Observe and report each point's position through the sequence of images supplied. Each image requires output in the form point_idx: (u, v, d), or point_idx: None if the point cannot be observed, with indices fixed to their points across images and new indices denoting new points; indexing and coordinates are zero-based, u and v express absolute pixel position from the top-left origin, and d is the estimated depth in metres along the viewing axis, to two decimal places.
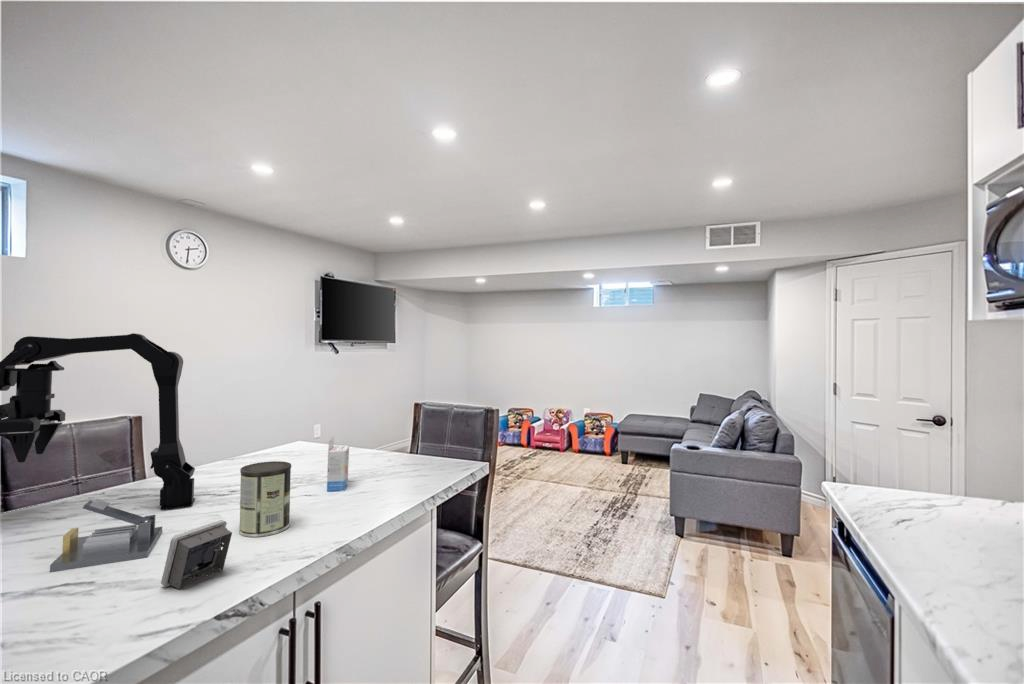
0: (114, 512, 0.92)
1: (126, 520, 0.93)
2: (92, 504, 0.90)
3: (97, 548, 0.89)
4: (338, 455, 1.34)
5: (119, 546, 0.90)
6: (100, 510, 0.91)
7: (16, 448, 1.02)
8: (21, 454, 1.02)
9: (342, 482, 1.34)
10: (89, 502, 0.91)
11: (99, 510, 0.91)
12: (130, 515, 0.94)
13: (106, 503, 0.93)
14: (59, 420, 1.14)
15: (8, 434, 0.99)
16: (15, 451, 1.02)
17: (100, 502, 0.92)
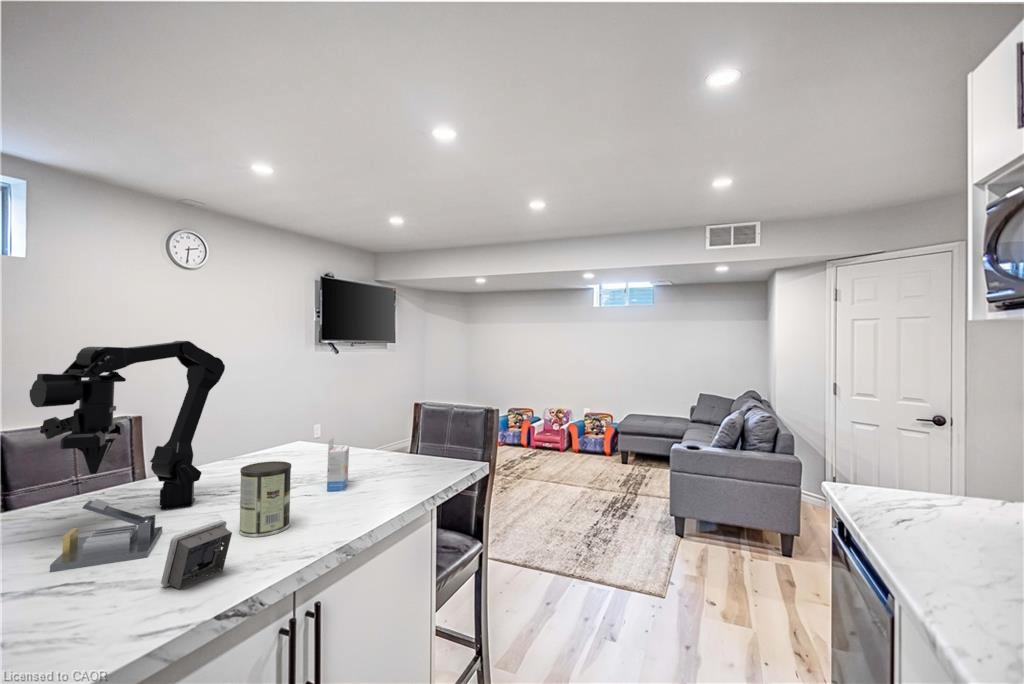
0: (114, 512, 0.92)
1: (126, 520, 0.93)
2: (92, 504, 0.90)
3: (97, 548, 0.89)
4: (338, 455, 1.34)
5: (119, 546, 0.90)
6: (100, 510, 0.91)
7: (89, 460, 1.01)
8: (93, 465, 1.02)
9: (342, 482, 1.34)
10: (89, 502, 0.91)
11: (99, 510, 0.91)
12: (130, 515, 0.94)
13: (106, 503, 0.93)
14: (119, 433, 1.09)
15: None
16: (88, 462, 1.01)
17: (100, 502, 0.92)
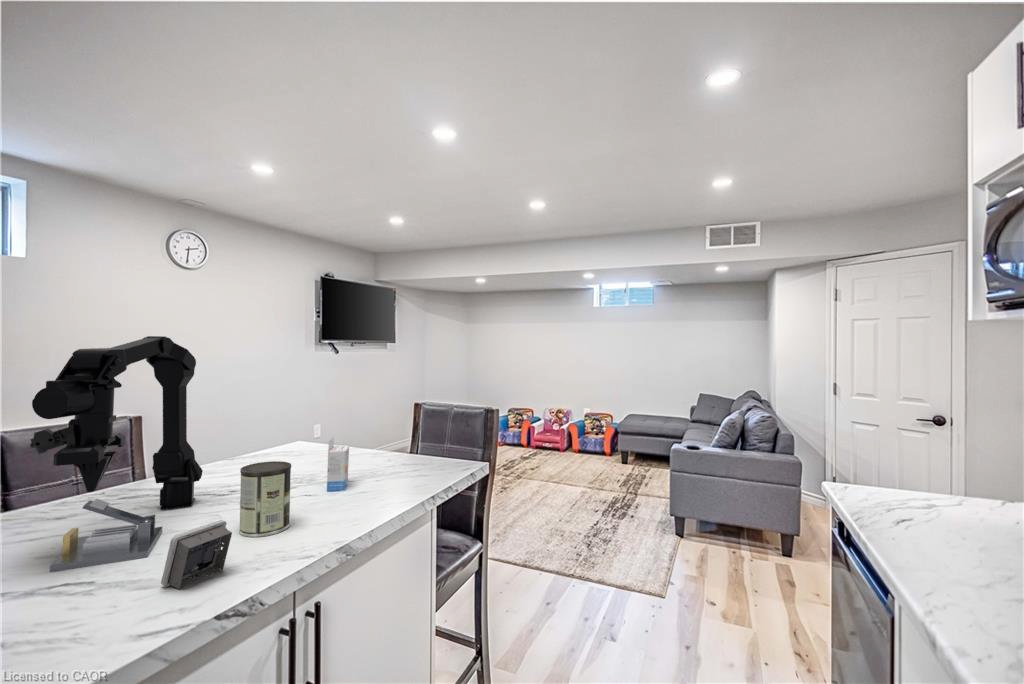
0: (114, 512, 0.92)
1: (126, 520, 0.93)
2: (92, 504, 0.90)
3: (97, 548, 0.89)
4: (338, 455, 1.34)
5: (119, 546, 0.90)
6: (100, 510, 0.91)
7: (86, 476, 0.90)
8: (91, 483, 0.91)
9: (342, 482, 1.34)
10: (89, 502, 0.91)
11: (99, 510, 0.91)
12: (130, 515, 0.94)
13: (106, 503, 0.93)
14: (120, 445, 0.98)
15: None
16: (84, 479, 0.90)
17: (100, 502, 0.92)
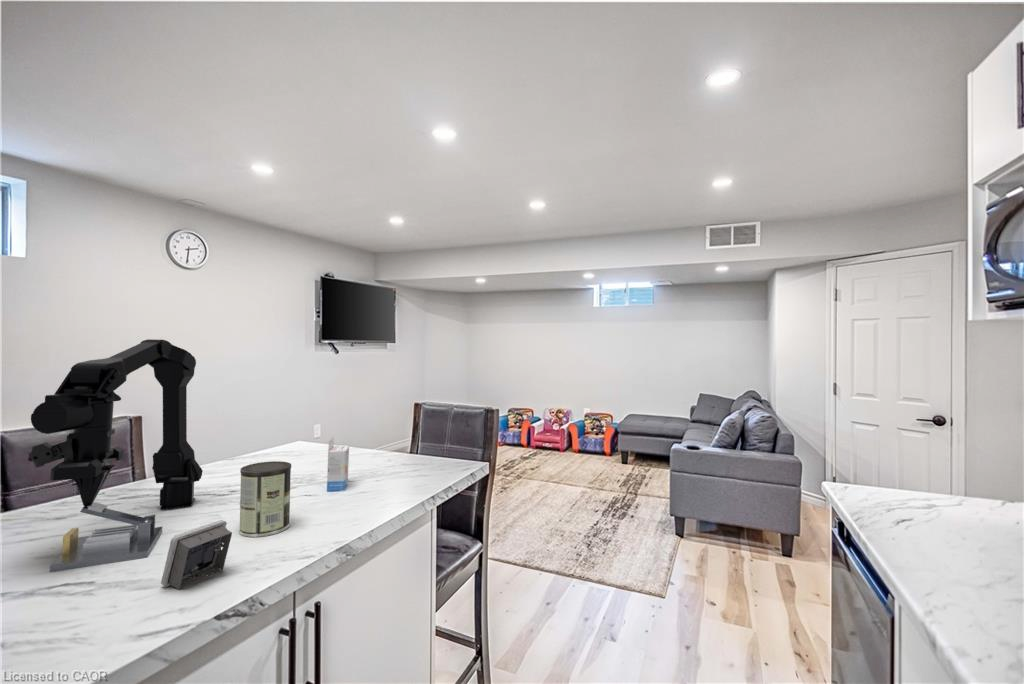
0: (113, 514, 0.92)
1: (125, 521, 0.92)
2: (90, 507, 0.90)
3: (97, 548, 0.89)
4: (338, 455, 1.34)
5: (119, 546, 0.90)
6: (98, 513, 0.91)
7: (83, 490, 0.90)
8: (87, 497, 0.90)
9: (342, 482, 1.34)
10: (87, 506, 0.91)
11: (97, 513, 0.91)
12: (129, 516, 0.94)
13: (104, 506, 0.93)
14: (118, 458, 0.98)
15: None
16: (81, 493, 0.90)
17: (97, 505, 0.92)
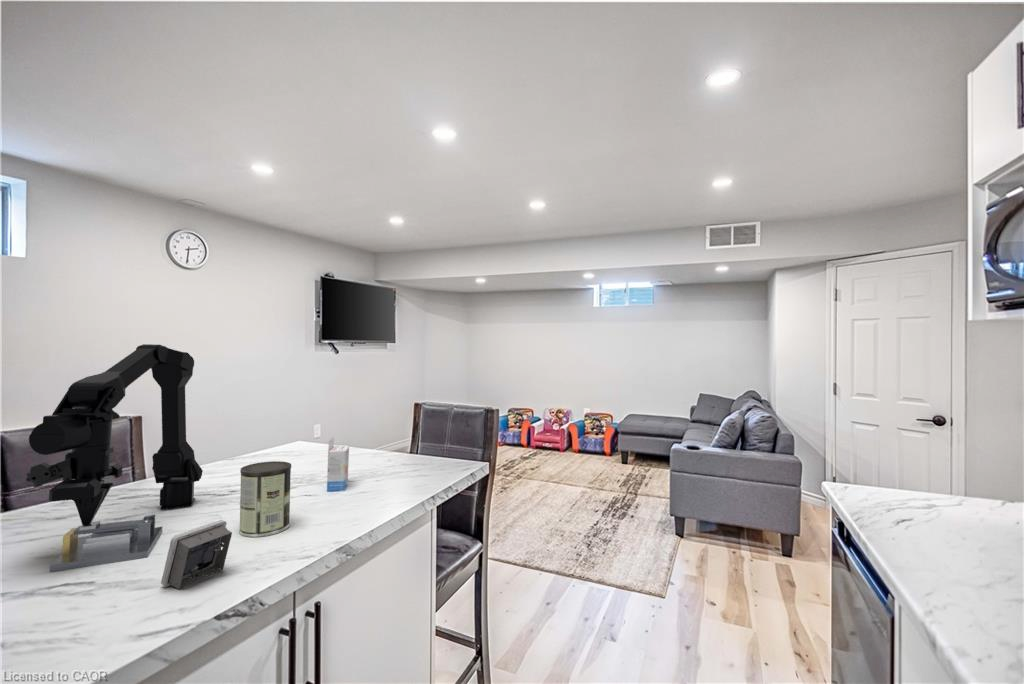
0: (108, 526, 0.92)
1: (124, 528, 0.92)
2: (81, 528, 0.89)
3: (97, 548, 0.89)
4: (338, 455, 1.34)
5: (119, 546, 0.90)
6: (92, 530, 0.90)
7: (82, 509, 0.89)
8: (86, 516, 0.90)
9: (342, 482, 1.34)
10: (78, 528, 0.90)
11: (91, 530, 0.90)
12: (126, 523, 0.94)
13: (96, 522, 0.92)
14: (116, 476, 0.98)
15: None
16: (80, 512, 0.90)
17: None
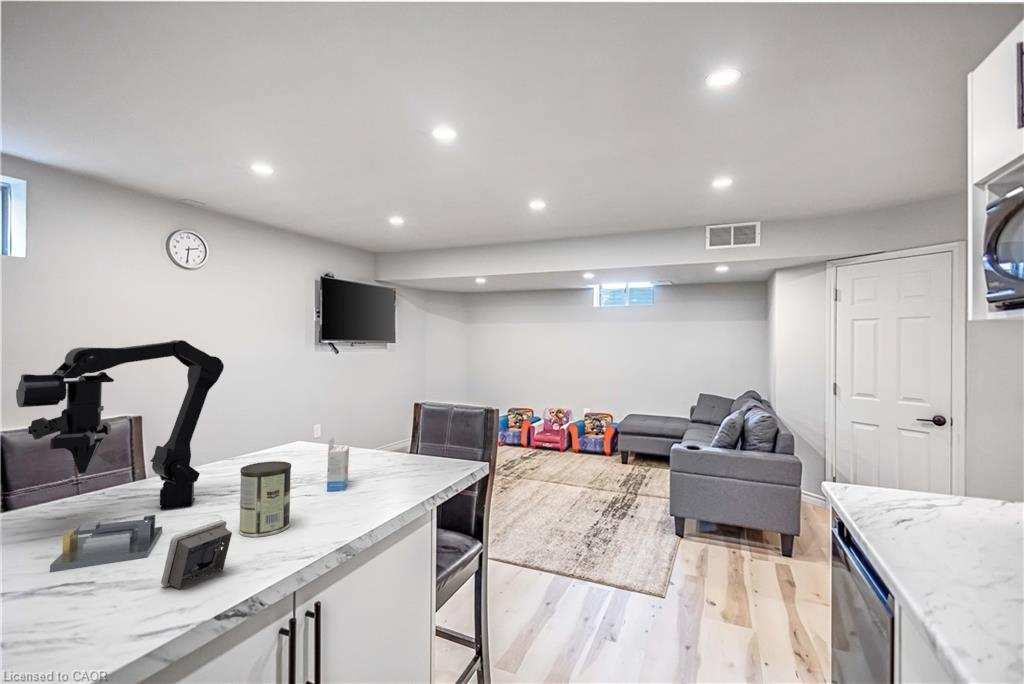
0: (108, 526, 0.92)
1: (124, 528, 0.92)
2: (81, 528, 0.89)
3: (97, 548, 0.89)
4: (338, 455, 1.34)
5: (119, 546, 0.90)
6: (92, 530, 0.90)
7: (78, 459, 1.02)
8: (82, 465, 1.03)
9: (342, 482, 1.34)
10: (78, 528, 0.90)
11: (91, 530, 0.90)
12: (126, 523, 0.94)
13: (96, 522, 0.92)
14: (106, 433, 1.10)
15: None
16: (76, 462, 1.02)
17: (89, 524, 0.91)
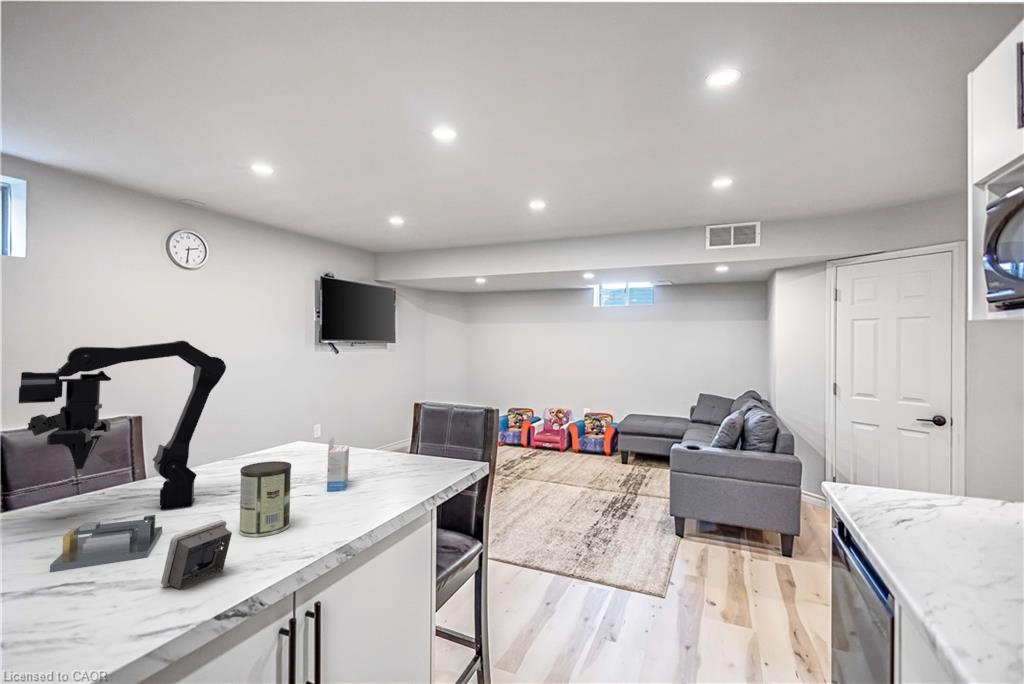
0: (108, 526, 0.92)
1: (124, 528, 0.92)
2: (81, 528, 0.89)
3: (97, 548, 0.89)
4: (338, 455, 1.34)
5: (119, 546, 0.90)
6: (92, 530, 0.90)
7: (75, 455, 1.05)
8: (79, 461, 1.06)
9: (342, 482, 1.34)
10: (78, 528, 0.90)
11: (91, 530, 0.90)
12: (126, 523, 0.94)
13: (96, 522, 0.92)
14: (105, 430, 1.13)
15: None
16: (74, 458, 1.05)
17: (89, 524, 0.91)
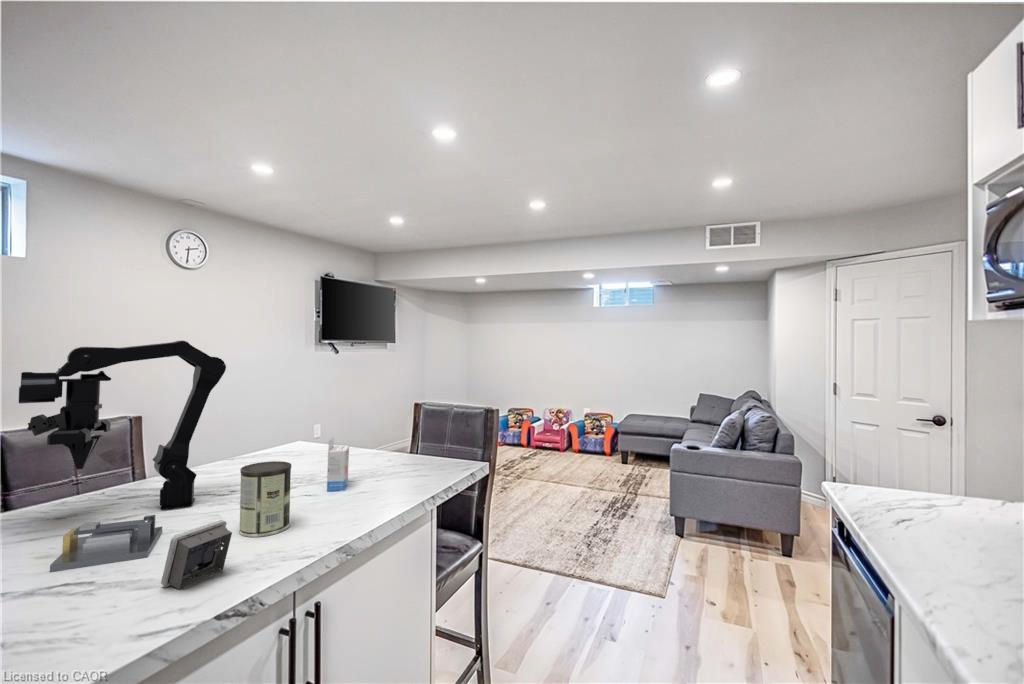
0: (108, 526, 0.92)
1: (124, 528, 0.92)
2: (81, 528, 0.89)
3: (97, 548, 0.89)
4: (338, 455, 1.34)
5: (119, 546, 0.90)
6: (92, 530, 0.90)
7: (75, 455, 1.05)
8: (79, 461, 1.06)
9: (342, 482, 1.34)
10: (78, 528, 0.90)
11: (91, 530, 0.90)
12: (126, 523, 0.94)
13: (96, 522, 0.92)
14: (105, 430, 1.13)
15: None
16: (74, 458, 1.05)
17: (89, 524, 0.91)
